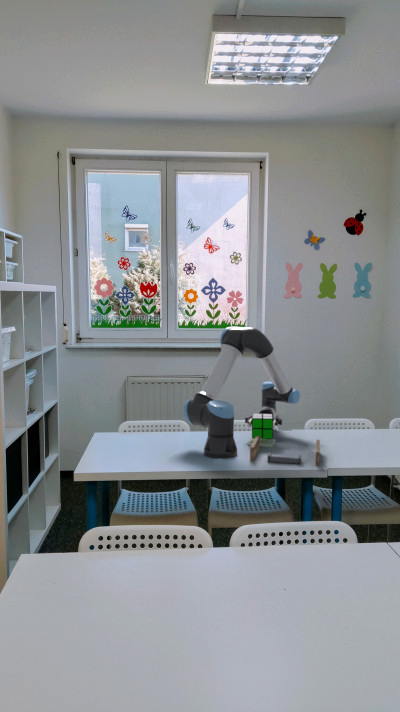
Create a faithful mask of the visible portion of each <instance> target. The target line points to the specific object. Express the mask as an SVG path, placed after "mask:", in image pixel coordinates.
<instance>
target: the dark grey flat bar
mask: <svg viewBox="0 0 400 712" xmlns="http://www.w3.org/2000/svg"><path fill="white" fill-rule="evenodd" d="M266 461H267V463H275V464H287V465H296V466H297V465H298V466H301V465H302V455H301V454H298V457H290V456H278V455H272V452H268V455H267V460H266Z"/></svg>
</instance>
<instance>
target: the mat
mask: <svg viewBox="0 0 400 712" xmlns="http://www.w3.org/2000/svg"><path fill="white" fill-rule="evenodd" d="M253 441H254V439H252V437H251V438H250V439H249V441H248V443H247V446H249V447H251V445H252V443H253ZM275 442H276V439H274V438H273V439H263V438H262V439H260V443H259V447H263V448H264V447H265V448H274V445H275Z"/></svg>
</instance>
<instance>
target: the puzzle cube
mask: <svg viewBox="0 0 400 712" xmlns="http://www.w3.org/2000/svg"><path fill="white" fill-rule="evenodd" d="M251 415H252V425H251V438H252V439H255V437H256V435H258V436H260V439H262V438H263V439H274V429H273V415H272V414H259V413H252V414H251Z"/></svg>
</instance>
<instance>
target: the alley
mask: <svg viewBox="0 0 400 712" xmlns="http://www.w3.org/2000/svg"><path fill="white" fill-rule="evenodd" d="M259 443H260V436H258V435H256V437H255V439H254V441H253V443H252V445H251V446H249V449H250V450H249V453H250V454H249V461H250V462H254V461H255V458H256V456H257V454H258V452H259V450H260V446H259ZM320 444H321V439H318V438H317V439H316V443H315V465H314V466H315V467H319V466H320V447H321V445H320Z"/></svg>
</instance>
